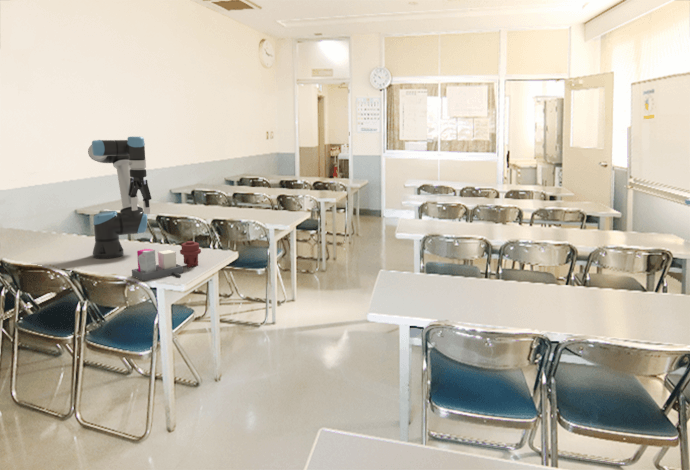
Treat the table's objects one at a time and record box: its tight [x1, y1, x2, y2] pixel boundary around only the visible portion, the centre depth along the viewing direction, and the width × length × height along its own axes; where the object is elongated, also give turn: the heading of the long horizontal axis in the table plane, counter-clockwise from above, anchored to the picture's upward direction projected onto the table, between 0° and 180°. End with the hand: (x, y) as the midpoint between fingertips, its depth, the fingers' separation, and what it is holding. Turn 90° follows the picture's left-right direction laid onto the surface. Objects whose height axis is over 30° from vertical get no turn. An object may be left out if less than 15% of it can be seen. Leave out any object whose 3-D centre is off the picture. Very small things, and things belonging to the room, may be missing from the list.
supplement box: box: [136, 248, 157, 273], centre depth 246 cm, size 6×6×12 cm
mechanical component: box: [179, 240, 202, 268], centre depth 264 cm, size 12×10×10 cm
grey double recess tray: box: [131, 249, 184, 282], centre depth 247 cm, size 18×20×10 cm
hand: (140, 212), depth 261 cm, fingers open, 13 cm apart
